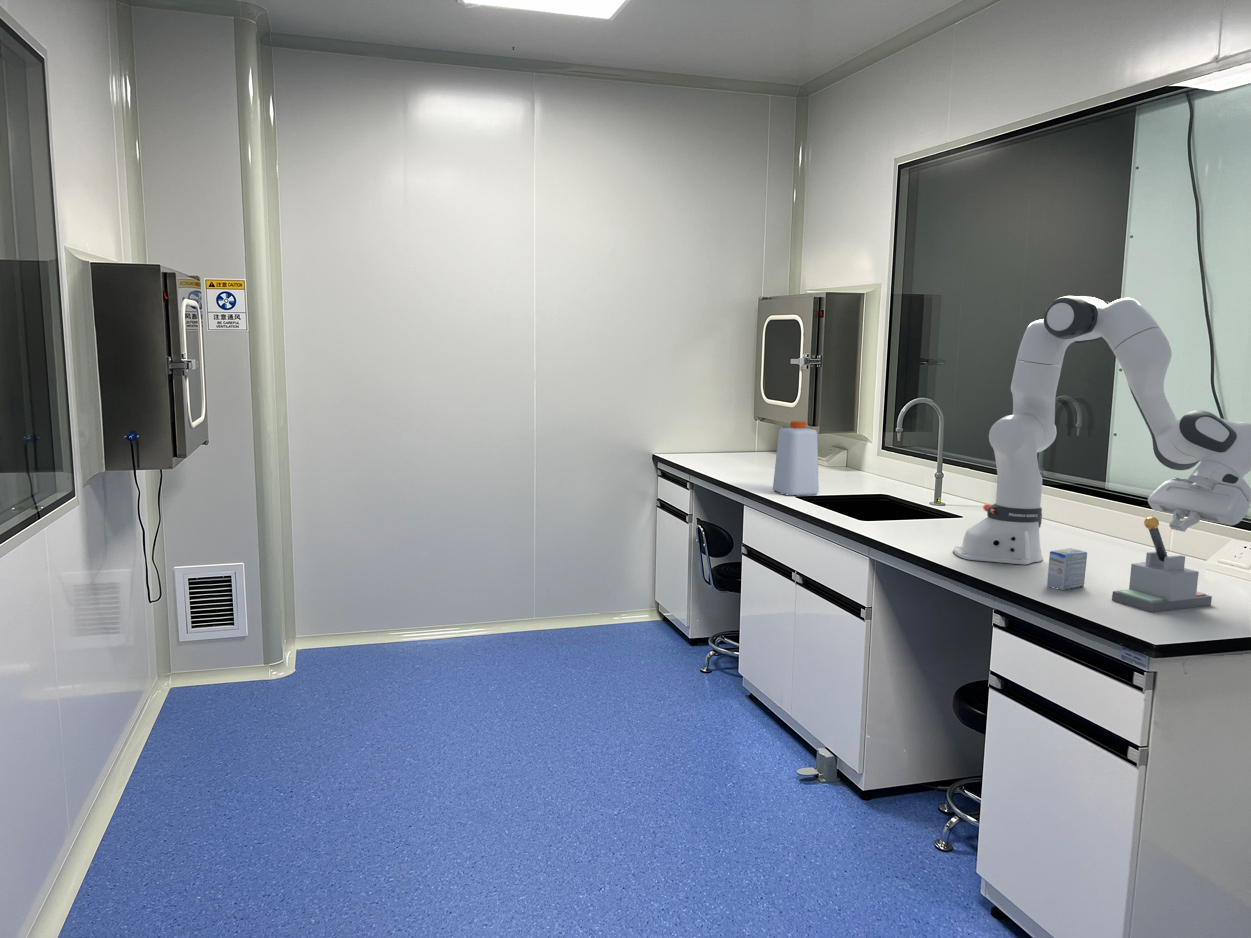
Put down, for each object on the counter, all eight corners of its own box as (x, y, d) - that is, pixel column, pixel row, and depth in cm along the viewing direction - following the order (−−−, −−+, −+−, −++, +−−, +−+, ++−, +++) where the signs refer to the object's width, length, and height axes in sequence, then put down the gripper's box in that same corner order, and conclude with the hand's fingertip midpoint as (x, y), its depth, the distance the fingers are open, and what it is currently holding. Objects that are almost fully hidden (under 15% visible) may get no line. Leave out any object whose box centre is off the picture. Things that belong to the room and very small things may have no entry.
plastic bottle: (787, 497, 334) (790, 423, 330) (768, 490, 348) (771, 420, 344) (822, 495, 339) (826, 422, 335) (802, 489, 353) (805, 419, 349)
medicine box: (1067, 582, 213) (1070, 547, 212) (1084, 587, 209) (1087, 551, 208) (1046, 586, 210) (1049, 550, 208) (1063, 591, 206) (1066, 554, 205)
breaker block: (1169, 593, 205) (1173, 547, 203) (1210, 605, 196) (1216, 556, 194) (1111, 599, 198) (1116, 552, 197) (1152, 612, 189) (1157, 562, 188)
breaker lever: (1162, 556, 197) (1148, 513, 194) (1174, 559, 195) (1159, 515, 191) (1154, 563, 197) (1139, 520, 193) (1165, 565, 194) (1151, 522, 191)
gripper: (1163, 468, 206) (1128, 511, 204) (1251, 480, 187) (1213, 528, 185) (1175, 486, 208) (1141, 529, 206) (1263, 500, 189) (1226, 547, 187)
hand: (1176, 528), depth 196 cm, fingers closed
